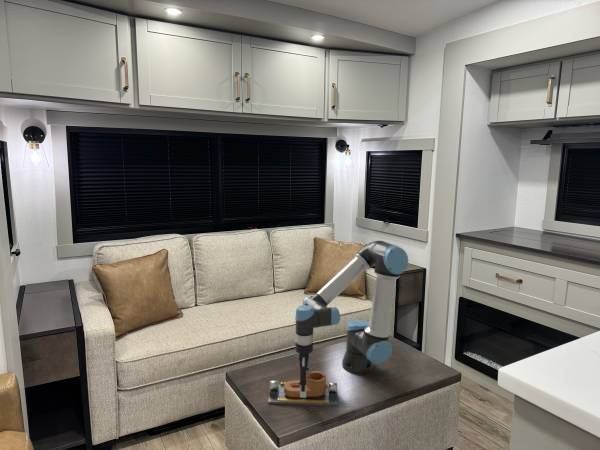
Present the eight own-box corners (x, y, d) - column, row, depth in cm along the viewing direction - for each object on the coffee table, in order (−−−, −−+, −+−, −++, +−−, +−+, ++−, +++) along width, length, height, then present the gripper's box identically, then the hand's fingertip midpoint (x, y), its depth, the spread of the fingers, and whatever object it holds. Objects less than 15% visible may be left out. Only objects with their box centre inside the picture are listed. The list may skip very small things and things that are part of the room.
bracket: (324, 385, 182) (324, 370, 180) (326, 396, 174) (327, 381, 172) (283, 386, 180) (283, 372, 179) (284, 397, 172) (284, 382, 171)
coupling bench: (336, 388, 183) (336, 375, 182) (337, 406, 170) (337, 392, 169) (271, 386, 184) (271, 373, 183) (268, 403, 171) (268, 389, 170)
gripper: (296, 330, 184) (296, 377, 187) (293, 353, 162) (293, 405, 166) (313, 331, 183) (312, 377, 187) (312, 354, 162) (311, 406, 166)
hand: (303, 390), depth 177 cm, fingers closed on bracket, 9 cm apart
